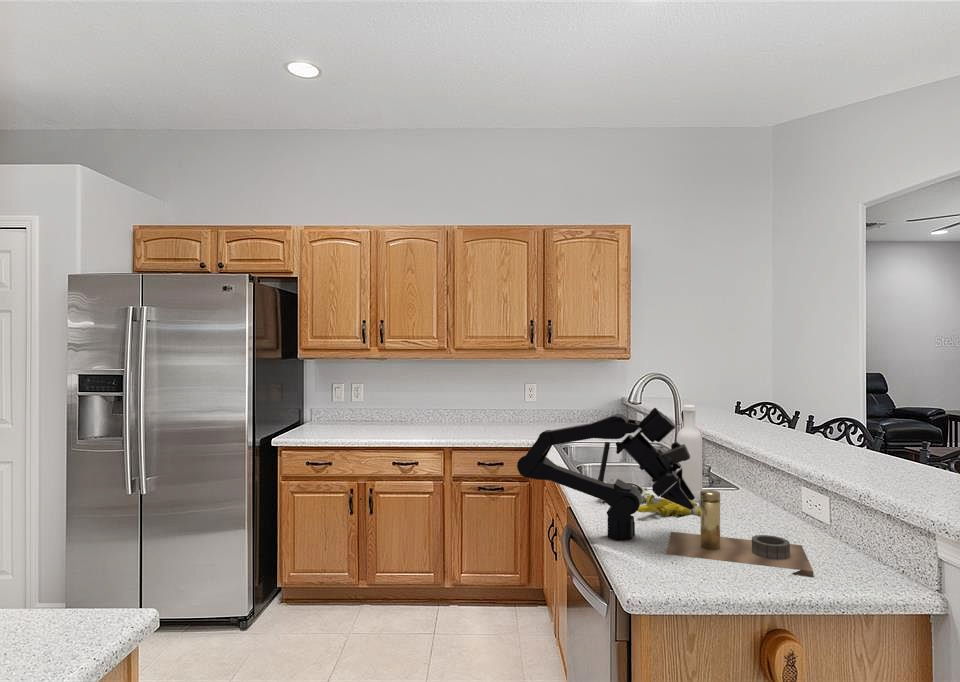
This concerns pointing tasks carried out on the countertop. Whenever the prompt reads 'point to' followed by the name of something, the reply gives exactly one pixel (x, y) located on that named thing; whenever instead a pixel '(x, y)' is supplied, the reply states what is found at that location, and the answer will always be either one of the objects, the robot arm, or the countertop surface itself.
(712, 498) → the brass fitting
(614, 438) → the robot arm
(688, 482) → the bottle
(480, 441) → the countertop surface
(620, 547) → the countertop surface
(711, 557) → the board
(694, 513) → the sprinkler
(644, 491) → the butterfly valve
